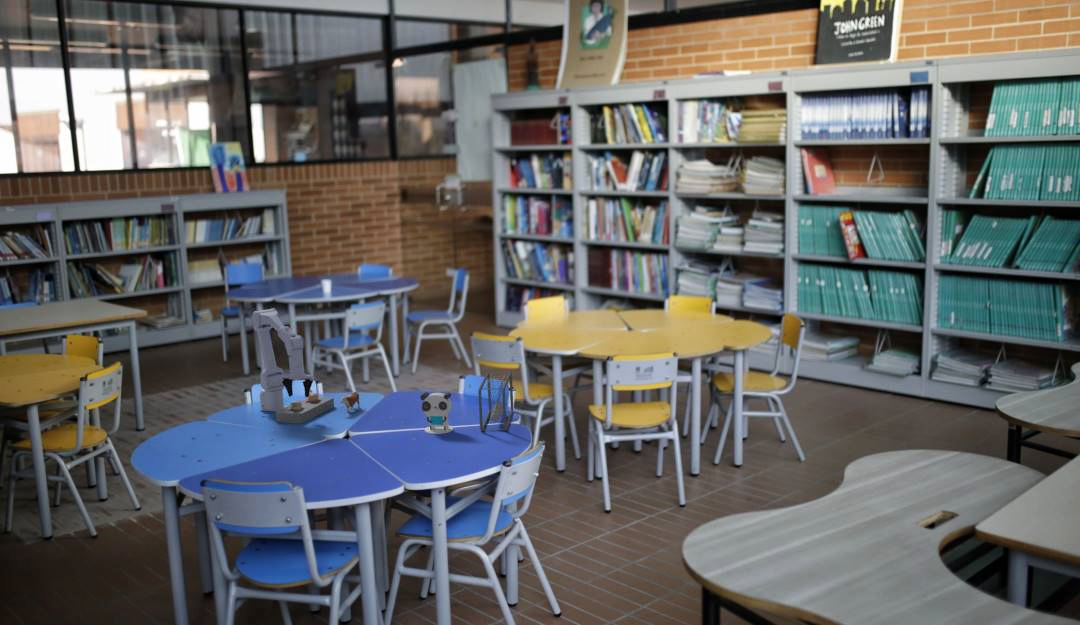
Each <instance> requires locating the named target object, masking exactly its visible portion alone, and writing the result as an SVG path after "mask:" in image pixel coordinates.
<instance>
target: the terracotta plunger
mask: <svg viewBox="0 0 1080 625" xmlns="http://www.w3.org/2000/svg"><path fill="white" fill-rule="evenodd" d="M319 397H320V396H319V393H315V392H311V393H309V396H308V397H307V398H308V403H317V402H319Z"/></svg>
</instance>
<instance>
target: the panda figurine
mask: <svg viewBox="0 0 1080 625" xmlns="http://www.w3.org/2000/svg"><path fill="white" fill-rule="evenodd" d="M451 397H452V393H450V392H447V393H443V392H432V393H429V392H428V391H426V392H424V393H422V394H421V395H420V400H421V401H422V403H421V410H422V411H423V413H424V414H425V415H426V416H427V417H426V421H427V422H428V424H429V426H427V427H425V428H424V432H425V433H427V434H430V435H441V434H443V435H444V434H447V433H450V432H453V430H454V427H453V426H452V425H449V415H448V414H449V413H450V412H451V409H452V401H451V399H450V398H451Z"/></svg>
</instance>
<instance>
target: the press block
mask: <svg viewBox="0 0 1080 625" xmlns="http://www.w3.org/2000/svg"><path fill="white" fill-rule="evenodd" d="M318 397H319V402H317V403H308V397H305V398H303V399H302V400H300V401H301V404H302V410H300V411H291V405H288V407H286V408H284V409H282V410H280V411H278V412H276V411H275V422H276V423H287V424H297V425H299V424H300V425H302V424H303V423H305V422H307V421H309V420H312V419H313V418H315V417H318V416H319V415H321V414H323V413H326V412H327V411H330V410H331V409H333V408H335V400H334V398H335V397H325V396H324V397H323V396H322V397H321V396H318Z"/></svg>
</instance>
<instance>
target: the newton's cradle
mask: <svg viewBox="0 0 1080 625" xmlns="http://www.w3.org/2000/svg"><path fill="white" fill-rule="evenodd" d="M500 374H504V375H502V378H495V377H493V376H492V375H500ZM506 374H507V377H506ZM505 377H506V378H505ZM494 379H495V380H496V379H500V382H499V385H497V387H495V386H494V385H495V383H494V382H495V381H494ZM504 379H505V381H504ZM486 382H487V383H486ZM485 383H486V384H485ZM508 383H509V396H510V398H509V399H510V410H507V409H506V408H507V407H506V405H507V404H506V389H507V386H508ZM484 385H485V387H484ZM498 386H499V387H498ZM513 386H514V385H513V372H512V371H509V372H490V371H487V372H485V376H484V378H483V379H482V381H481V383H480V385H479V387H478V394H477V395H478V414H479V429H480V432H484V431H504V432H507V431H508V428H509V426H510V423H511V419H512V416H513V413H514V393H513V392H514V391H513ZM483 390H487V398H488V399H487V400H488V401H487V402H488V411H487V414H486V417H485V419H484V421H483V402H482V391H483ZM496 390H498V393H497V392H496ZM496 393H497V394H496ZM501 397H502V399H501ZM501 400H502V402H501ZM507 413H509V415H508V417H507ZM501 414H502V418H503V419H502V420H503V423H502V424H503V428H494V429H492V428H489V429H488V428H487V429H485V428H486V426H487V423H488V420H490V421H491V422H493V423H498V421H499V420H500V417H501Z"/></svg>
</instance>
